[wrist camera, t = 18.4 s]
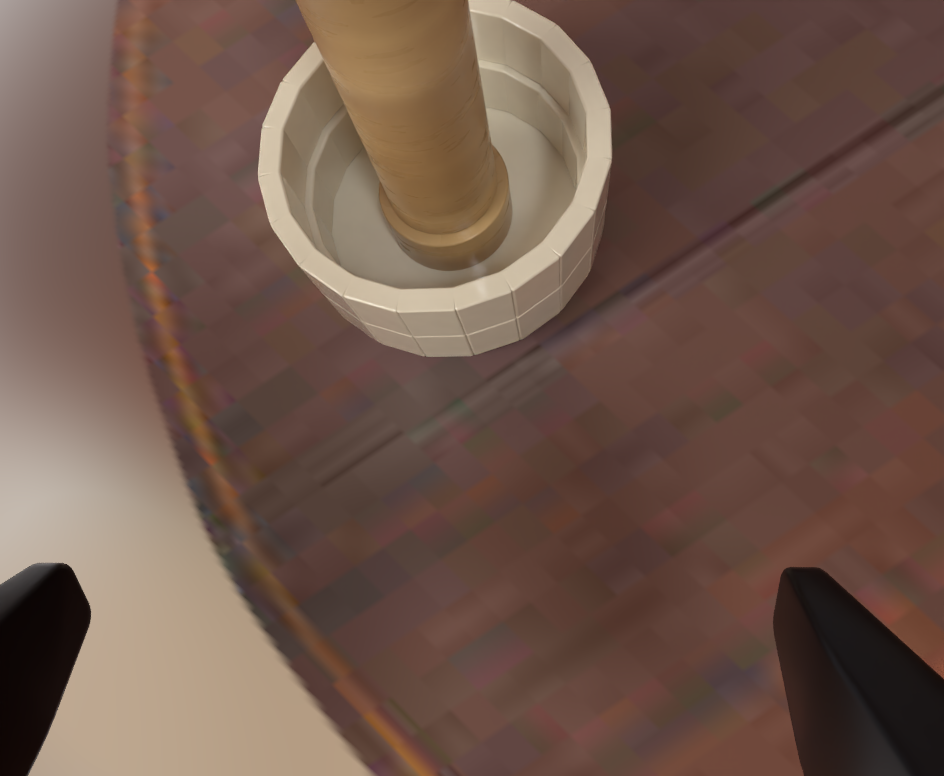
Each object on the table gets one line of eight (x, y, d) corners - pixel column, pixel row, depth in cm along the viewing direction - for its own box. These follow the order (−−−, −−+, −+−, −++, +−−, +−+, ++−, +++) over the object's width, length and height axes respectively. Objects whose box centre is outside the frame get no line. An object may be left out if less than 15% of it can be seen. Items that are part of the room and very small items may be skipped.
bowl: (485, 421, 21) (466, 384, 17) (258, 259, 23) (188, 189, 19) (660, 184, 22) (684, 92, 18) (428, 49, 24) (400, -64, 20)
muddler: (533, 237, 22) (489, -297, 8) (421, 292, 22) (197, -154, 8) (480, 140, 23) (362, -482, 9) (373, 193, 23) (100, -354, 9)
